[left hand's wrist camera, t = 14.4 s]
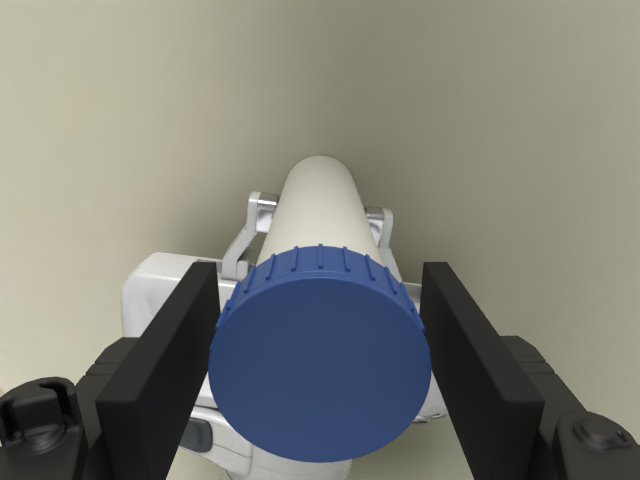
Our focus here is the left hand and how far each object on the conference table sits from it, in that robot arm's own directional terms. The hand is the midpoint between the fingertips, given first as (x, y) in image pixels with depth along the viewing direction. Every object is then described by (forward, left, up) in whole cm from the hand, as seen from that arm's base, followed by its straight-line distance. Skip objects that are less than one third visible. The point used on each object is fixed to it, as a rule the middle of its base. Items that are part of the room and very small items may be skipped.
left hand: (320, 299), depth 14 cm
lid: (0, 0, +4) cm, 4 cm away
